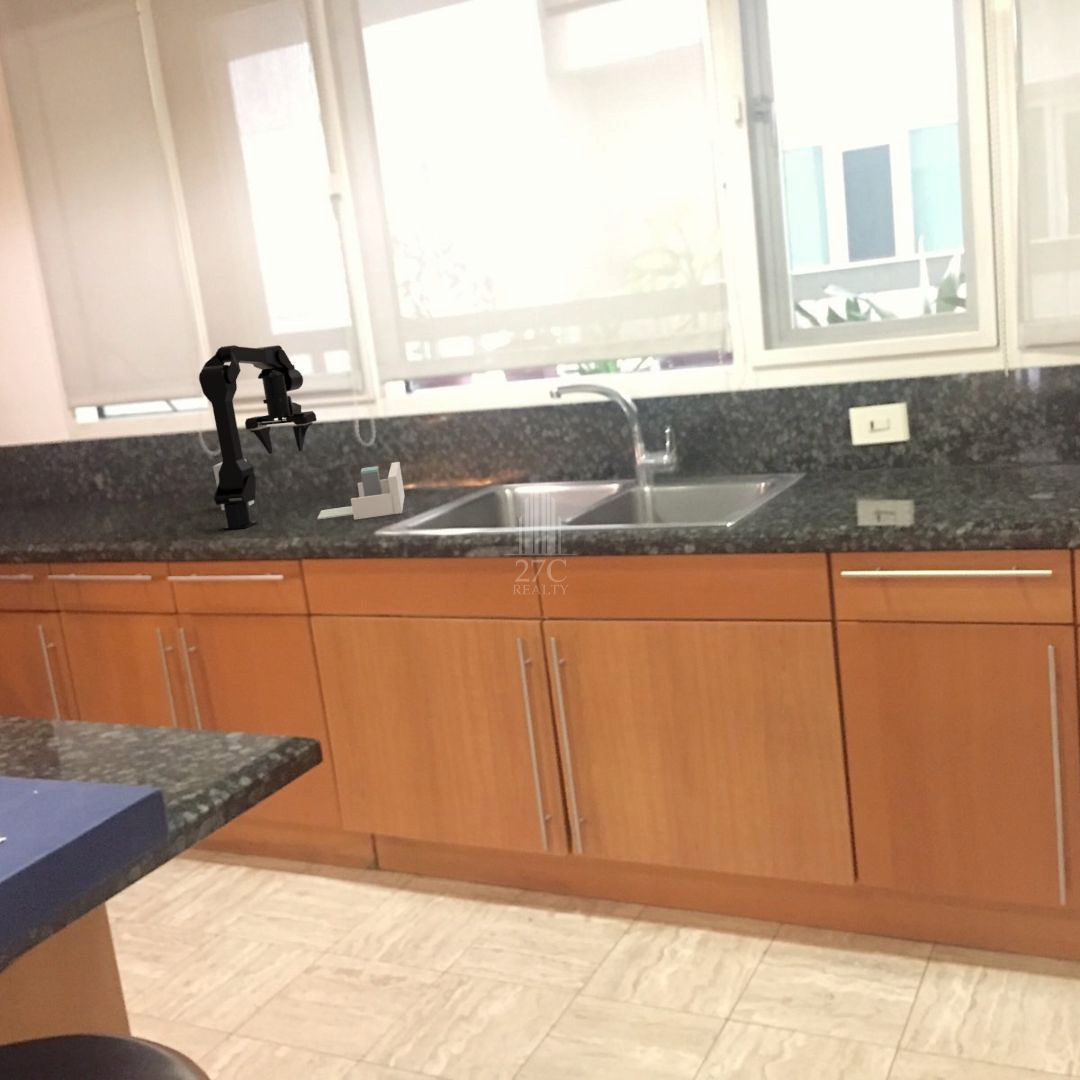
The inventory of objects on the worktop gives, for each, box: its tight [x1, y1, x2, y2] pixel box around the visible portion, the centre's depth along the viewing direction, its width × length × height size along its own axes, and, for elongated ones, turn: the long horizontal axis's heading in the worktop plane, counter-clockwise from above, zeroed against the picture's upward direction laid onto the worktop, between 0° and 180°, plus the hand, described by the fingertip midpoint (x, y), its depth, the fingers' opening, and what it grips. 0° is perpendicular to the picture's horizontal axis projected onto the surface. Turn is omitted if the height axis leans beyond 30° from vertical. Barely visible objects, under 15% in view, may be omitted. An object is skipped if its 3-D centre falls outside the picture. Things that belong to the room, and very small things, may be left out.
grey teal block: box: [360, 465, 382, 497], centre depth 297 cm, size 4×6×10 cm, turn 5°
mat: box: [316, 505, 353, 520], centre depth 298 cm, size 10×11×1 cm
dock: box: [350, 461, 405, 520], centre depth 297 cm, size 12×26×9 cm, turn 5°
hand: (285, 452), depth 318 cm, fingers open, 9 cm apart
